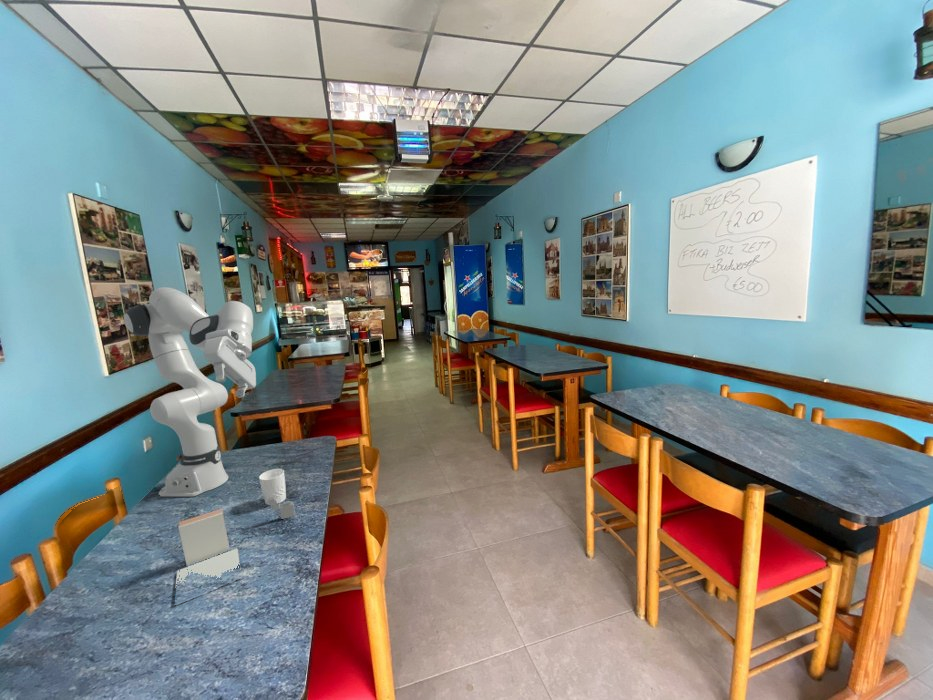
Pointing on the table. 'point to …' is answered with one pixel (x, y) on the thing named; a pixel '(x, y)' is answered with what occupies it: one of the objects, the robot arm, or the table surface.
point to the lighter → (283, 508)
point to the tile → (203, 536)
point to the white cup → (273, 485)
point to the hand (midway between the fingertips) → (230, 389)
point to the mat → (212, 565)
